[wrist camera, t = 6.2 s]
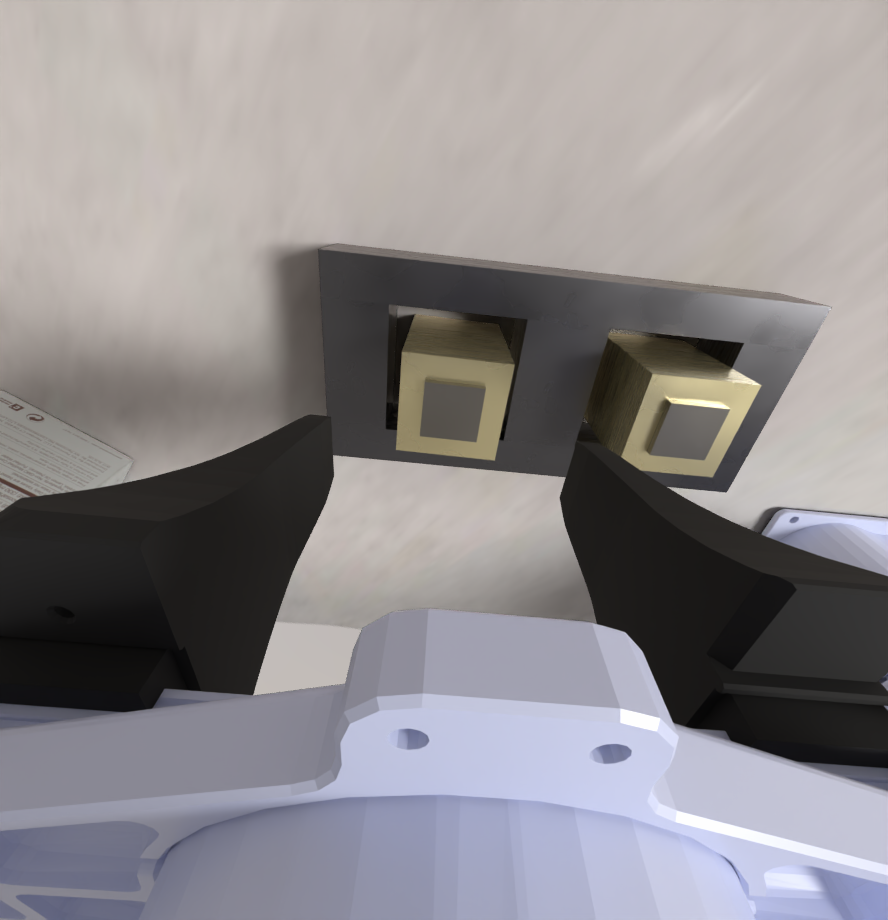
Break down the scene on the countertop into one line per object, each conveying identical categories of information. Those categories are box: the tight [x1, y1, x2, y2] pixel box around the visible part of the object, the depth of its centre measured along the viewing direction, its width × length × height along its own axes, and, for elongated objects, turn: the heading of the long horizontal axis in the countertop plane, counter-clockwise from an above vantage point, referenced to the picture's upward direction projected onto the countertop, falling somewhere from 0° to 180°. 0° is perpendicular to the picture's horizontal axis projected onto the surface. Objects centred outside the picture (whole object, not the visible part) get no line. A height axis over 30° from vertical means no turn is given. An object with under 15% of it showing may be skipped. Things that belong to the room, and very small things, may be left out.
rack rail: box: [318, 243, 831, 492], centre depth 19 cm, size 20×9×3 cm, turn 84°
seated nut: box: [584, 332, 761, 477], centre depth 18 cm, size 4×4×6 cm
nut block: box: [396, 314, 515, 461], centre depth 18 cm, size 4×4×6 cm
